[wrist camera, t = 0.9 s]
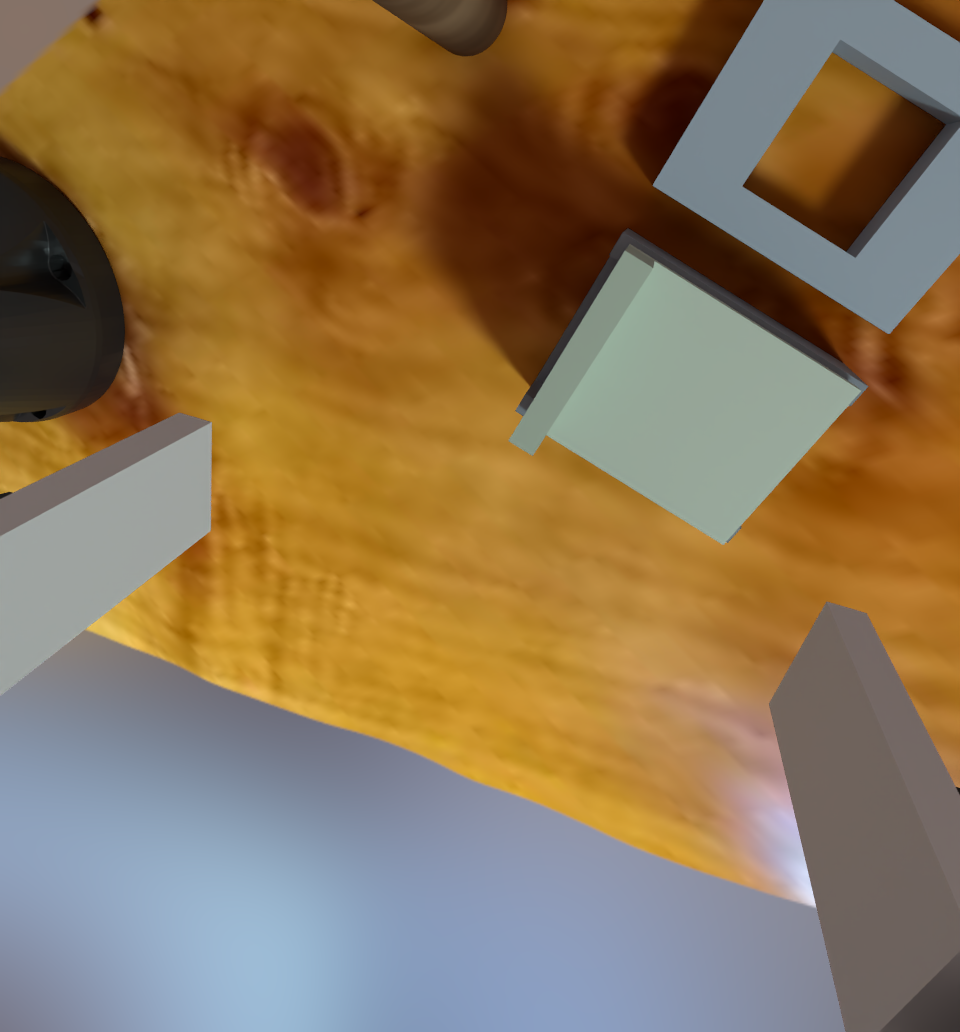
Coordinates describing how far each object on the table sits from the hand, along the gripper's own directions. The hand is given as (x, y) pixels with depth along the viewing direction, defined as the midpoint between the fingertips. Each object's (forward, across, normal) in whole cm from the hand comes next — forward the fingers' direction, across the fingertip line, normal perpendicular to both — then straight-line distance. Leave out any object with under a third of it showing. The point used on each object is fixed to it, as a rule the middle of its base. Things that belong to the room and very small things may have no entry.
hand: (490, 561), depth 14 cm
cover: (+18, +5, 0) cm, 19 cm away
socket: (+22, +8, +10) cm, 26 cm away
